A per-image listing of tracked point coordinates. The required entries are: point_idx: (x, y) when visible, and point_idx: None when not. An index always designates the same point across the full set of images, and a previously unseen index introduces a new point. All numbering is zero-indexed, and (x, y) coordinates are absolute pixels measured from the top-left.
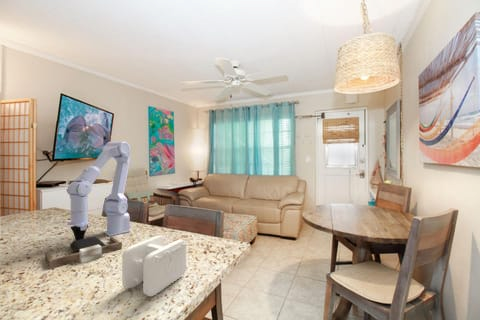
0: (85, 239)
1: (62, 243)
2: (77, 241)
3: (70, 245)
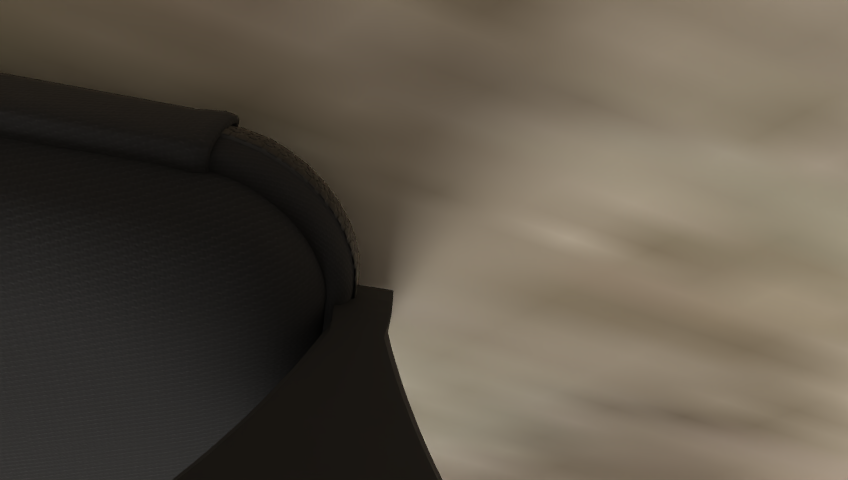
0: (94, 451)
1: (838, 140)
2: (40, 301)
3: (164, 120)
